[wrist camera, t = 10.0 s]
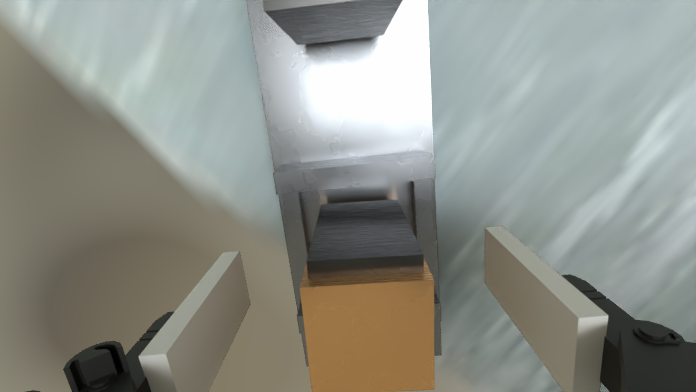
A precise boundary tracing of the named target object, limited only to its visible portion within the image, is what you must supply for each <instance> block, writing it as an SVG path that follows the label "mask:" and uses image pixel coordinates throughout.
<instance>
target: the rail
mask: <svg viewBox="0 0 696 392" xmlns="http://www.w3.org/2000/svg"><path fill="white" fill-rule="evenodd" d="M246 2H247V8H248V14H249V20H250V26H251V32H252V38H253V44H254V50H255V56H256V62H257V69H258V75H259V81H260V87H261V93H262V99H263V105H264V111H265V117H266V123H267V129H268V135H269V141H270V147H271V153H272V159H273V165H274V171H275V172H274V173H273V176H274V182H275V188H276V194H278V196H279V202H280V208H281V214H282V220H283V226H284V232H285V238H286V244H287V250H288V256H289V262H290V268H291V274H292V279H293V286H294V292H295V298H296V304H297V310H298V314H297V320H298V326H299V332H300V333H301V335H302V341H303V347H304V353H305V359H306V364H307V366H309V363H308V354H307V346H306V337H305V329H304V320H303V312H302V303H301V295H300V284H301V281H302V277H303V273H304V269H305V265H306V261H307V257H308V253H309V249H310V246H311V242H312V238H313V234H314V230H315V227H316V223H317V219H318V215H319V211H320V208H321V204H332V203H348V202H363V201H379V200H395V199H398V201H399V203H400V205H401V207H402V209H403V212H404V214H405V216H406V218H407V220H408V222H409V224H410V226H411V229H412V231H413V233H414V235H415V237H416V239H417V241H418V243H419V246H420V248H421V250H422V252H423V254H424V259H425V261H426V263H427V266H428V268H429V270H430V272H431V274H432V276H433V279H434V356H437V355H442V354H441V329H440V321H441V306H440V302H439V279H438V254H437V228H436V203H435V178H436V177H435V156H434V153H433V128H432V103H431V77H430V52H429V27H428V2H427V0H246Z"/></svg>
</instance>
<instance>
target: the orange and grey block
mask: <svg viewBox="0 0 696 392" xmlns="http://www.w3.org/2000/svg"><path fill="white" fill-rule="evenodd" d="M300 295H301V303H302V312H303V320H304V329H305V337H306V346H307V354H308V363H309V371H310V380H311V388H312V392H393V391H413V390H433V389H434V279H433V276H432V274H431V272H430V270H429V268H428V266H427V263H426V261H425V259H424V254H423V252H422V250H421V248H420V246H419V243H418V241H417V239H416V237H415V235H414V233H413V231H412V229H411V226H410V224H409V222H408V220H407V218H406V216H405V214H404V212H403V209H402V207H401V205H400V203H399V201H398V199H395V200H379V201H363V202H348V203H332V204H321V208H320V211H319V215H318V219H317V223H316V227H315V230H314V234H313V238H312V242H311V246H310V249H309V253H308V257H307V261H306V265H305V269H304V273H303V277H302V281H301V284H300Z"/></svg>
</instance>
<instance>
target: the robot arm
mask: <svg viewBox="0 0 696 392" xmlns="http://www.w3.org/2000/svg"><path fill="white" fill-rule="evenodd" d="M485 284H486V285H487V287H488V288H489V289H490V291H491V292H492V294H493V295H494V296H495V298H496V299H497V300H498V302H499V303H500V305H501V306H502V307H503V309H504V310H505V311H506V313H507V314H508V315H509V317H510V318H511V320H512V321H513V322H514V324H515V325H516V326H517V328H518V329H519V331H520V332H521V333H522V335H523V336H524V337H525V339H526V340H527V342H528V343H529V344H530V346H531V347H532V348H533V350H534V351H535V353H536V354H537V355H538V357H539V358H540V359H541V361H542V362H543V364H544V365H545V366H546V368H547V369H548V370H549V372H550V373H551V375H552V376H553V377H554V379H555V380H556V381H557V383H558V384H559V386H560V387H561V388H562V390H563V391H564V392H600V388H601V382H602V383H603V385H604V386H605V387H606V388H607V389H608V390H609V391H610V392H696V343H690V342H685V340H684V339H683V338H682V336H680V335H679V334H677V333H676V332H675V331H673V330H671V329H669V328H667V327H665V326H662V325H660V324H656V323H653V322H649V321H641V320H635V319H634V318H632V317H631V316H630V315H629V314H627V313H626V312H625V311H623V310H622V309H621V308H620V307H618V306H617V305H616V304H614V303H613V302H612V301H611V300H609V299H606V297H605V296H604V295H603V294H602V293H600V292H597V290H596V289H595V288H594V287H593V286H591V285H590V284H589V283H587V282H586V281H584V280H582V279H580V278H577V277H575V276H573V275H560V274H559V273H558V272H556V271H555V270H554V269H553V268H552V267H550V266H549V265H548V264H547V263H546V262H544V261H543V260H542V259H541V258H540V257H539V256H537V255H536V254H535V253H534V252H533V251H531V250H530V249H529V248H528V247H527V246H525V245H524V244H523V243H522V242H521V241H520V240H518V239H517V238H516V237H515V236H514V235H512V234H511V233H510V232H509V231H508V230H506V229H505V228H504V227H503V226H494V227H485ZM249 306H250V299H249V295H248V289H247V284H246V280H245V275H244V270H243V265H242V260H241V255H240V251H234V252H224V253H222V254H221V256H220V257H219V258H218V260H217V261H216V262H215V263H214V264H213V266H212V267H211V268H210V269H209V270H208V272H207V273H206V274H205V275H204V277H203V278H202V279H201V280H200V281H199V283H198V284H197V285H196V286H195V288H194V289H193V290H192V291H191V292H190V294H189V295H188V296H187V297H186V299H185V300H184V301H183V302H182V304H181V305H180V306H179V307H178V308H177V310H176V311H175V312H168V313H167V314H165V315H163V316H162V317H160V318H159V319H158V320H156V321H155V322H154V323H153V324H152V325H151V327H150V328H149V329H148V330H147V332H146V333H145V334H144V335H143V336H142V337H141V338H140V339H139V341H137V343H136V344H135V345H134V346H133V347H132V348H131V350H130V351H129V352H128V353H127V354H126V355H125V354H124V351H123V348H122V346H121V344H120V343H119V342H116V341H109V342H103V343H100V344H96V345H94V346H91V347H89V348H87V349H85V350H83V351H81V352H80V353H79V354H77V355H75V356H74V357H73V358H72V359H71V360H69V362H67V364H66V365H65V367H64V369H63V370H64V372H65V375H66V377H67V380H68V382H69V385H70V387H71V390H72V392H209V390H210V387H211V385H212V383H213V381H214V379H215V377H216V375H217V373H218V371H219V369H220V367H221V365H222V362H223V360H224V358H225V356H226V354H227V352H228V350H229V348H230V346H231V344H232V342H233V339H234V337H235V335H236V333H237V331H238V329H239V327H240V325H241V323H242V321H243V319H244V316H245V314H246V312H247V310H248V308H249ZM27 392H40V391H34V390H33V391H27Z"/></svg>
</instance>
